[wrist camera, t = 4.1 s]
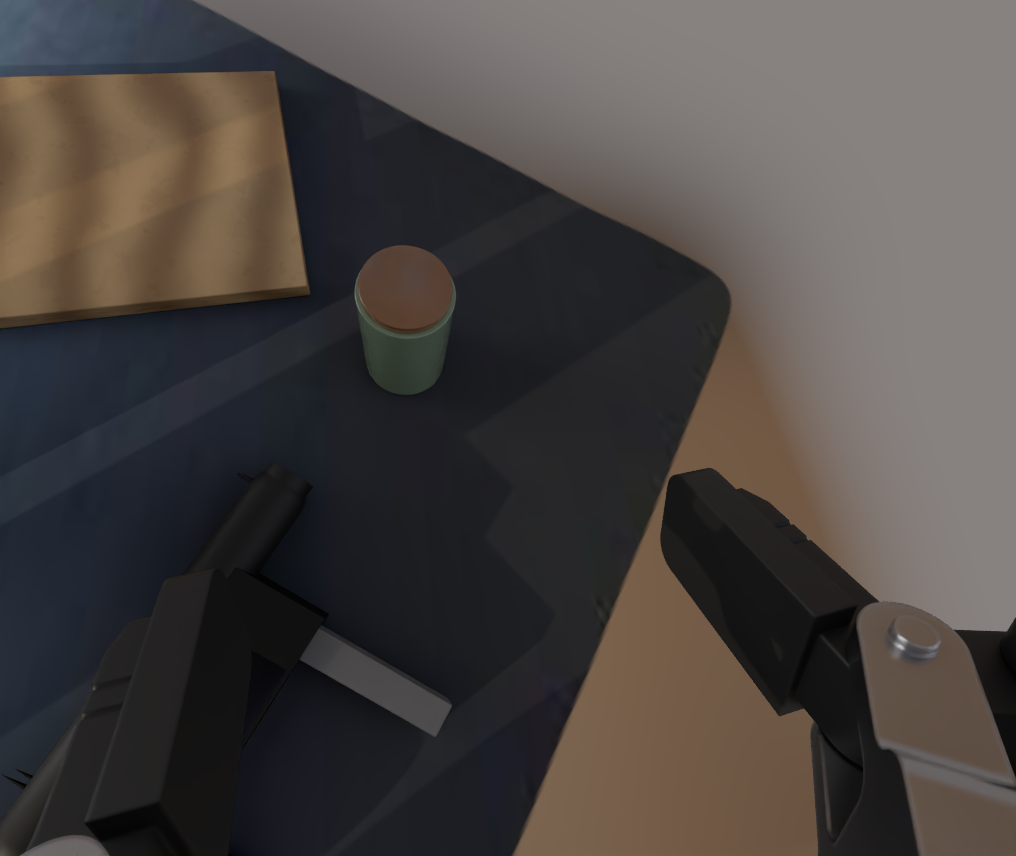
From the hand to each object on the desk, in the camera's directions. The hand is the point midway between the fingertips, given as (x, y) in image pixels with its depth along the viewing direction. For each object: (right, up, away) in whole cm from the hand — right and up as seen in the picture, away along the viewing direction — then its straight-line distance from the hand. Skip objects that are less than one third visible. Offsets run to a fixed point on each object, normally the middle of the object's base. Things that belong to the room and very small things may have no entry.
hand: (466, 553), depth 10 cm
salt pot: (-6, +7, +25) cm, 26 cm away
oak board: (-25, +16, +24) cm, 38 cm away
